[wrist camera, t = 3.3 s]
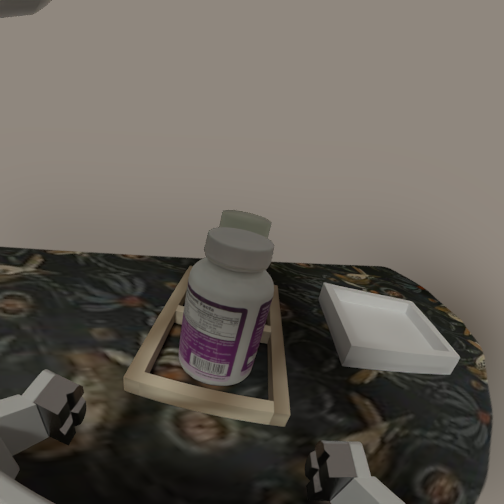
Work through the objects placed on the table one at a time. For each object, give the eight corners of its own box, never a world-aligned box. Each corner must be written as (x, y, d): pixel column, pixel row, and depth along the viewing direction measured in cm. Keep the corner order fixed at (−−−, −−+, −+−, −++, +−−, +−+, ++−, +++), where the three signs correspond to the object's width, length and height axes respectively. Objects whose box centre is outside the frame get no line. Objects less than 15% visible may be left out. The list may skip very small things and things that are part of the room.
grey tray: (341, 366, 24) (351, 345, 23) (318, 299, 36) (323, 282, 35) (449, 374, 24) (460, 357, 24) (405, 315, 37) (412, 301, 36)
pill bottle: (222, 336, 24) (248, 223, 22) (265, 375, 21) (305, 252, 18) (164, 349, 21) (181, 221, 18) (202, 398, 17) (232, 256, 14)
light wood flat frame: (124, 390, 16) (123, 377, 16) (188, 275, 34) (189, 265, 34) (284, 426, 16) (290, 414, 16) (274, 295, 34) (277, 285, 34)
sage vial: (200, 312, 27) (219, 216, 25) (208, 291, 31) (225, 207, 29) (247, 322, 27) (272, 228, 25) (249, 301, 32) (270, 218, 29)
